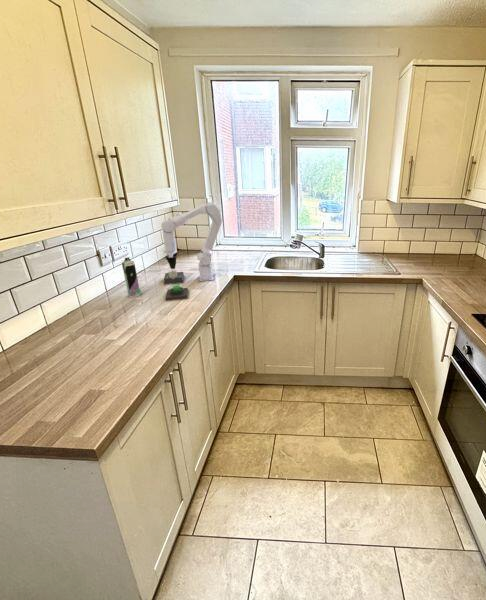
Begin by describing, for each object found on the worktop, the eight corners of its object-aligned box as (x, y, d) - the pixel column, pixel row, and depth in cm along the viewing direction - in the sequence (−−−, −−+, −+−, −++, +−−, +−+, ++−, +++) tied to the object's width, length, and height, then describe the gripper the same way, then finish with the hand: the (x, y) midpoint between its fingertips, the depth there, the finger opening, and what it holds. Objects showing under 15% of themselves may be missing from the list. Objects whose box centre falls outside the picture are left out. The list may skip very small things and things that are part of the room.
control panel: (166, 277, 189) (165, 272, 187) (184, 276, 191) (183, 271, 190) (164, 285, 177) (163, 279, 176) (183, 283, 180) (182, 278, 178)
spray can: (135, 297, 159) (127, 259, 151) (126, 296, 160) (118, 258, 152) (142, 293, 164) (135, 256, 156) (133, 292, 165) (126, 255, 157)
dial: (169, 276, 182) (168, 269, 181) (177, 275, 183) (176, 269, 182) (169, 278, 178) (168, 271, 177) (177, 277, 180) (176, 271, 178)
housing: (168, 292, 167) (167, 286, 165) (188, 290, 169) (187, 284, 168) (166, 300, 156) (164, 294, 155) (187, 298, 159) (186, 292, 157)
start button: (173, 289, 163) (172, 285, 162) (180, 288, 164) (180, 285, 163) (172, 291, 159) (172, 288, 159) (180, 290, 160) (179, 287, 160)
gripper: (163, 240, 177) (166, 263, 183) (160, 246, 165) (164, 271, 170) (176, 240, 179) (179, 263, 185) (175, 245, 167) (178, 270, 172)
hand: (173, 266), depth 177 cm, fingers open, 7 cm apart
